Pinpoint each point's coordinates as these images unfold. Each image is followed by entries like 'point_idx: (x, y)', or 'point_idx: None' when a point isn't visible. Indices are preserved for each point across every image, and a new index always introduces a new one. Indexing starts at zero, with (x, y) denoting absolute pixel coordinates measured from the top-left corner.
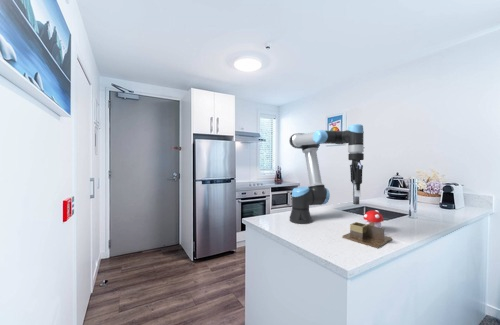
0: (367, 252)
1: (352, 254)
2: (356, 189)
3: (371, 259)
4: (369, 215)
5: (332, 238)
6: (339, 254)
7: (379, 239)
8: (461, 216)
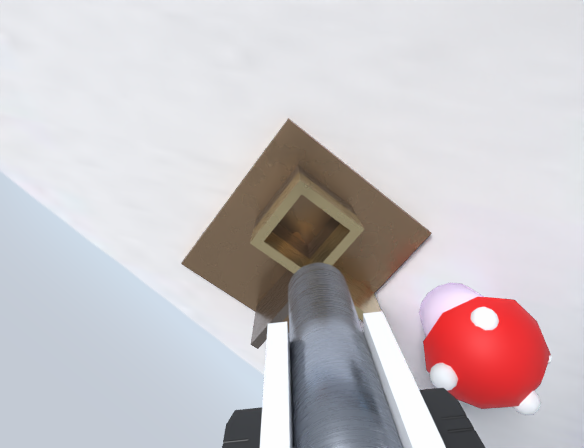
0: (116, 203)
1: (61, 129)
2: (258, 419)
3: (43, 201)
4: (467, 340)
5: (260, 53)
6: (31, 61)
7: (267, 294)
8: None
